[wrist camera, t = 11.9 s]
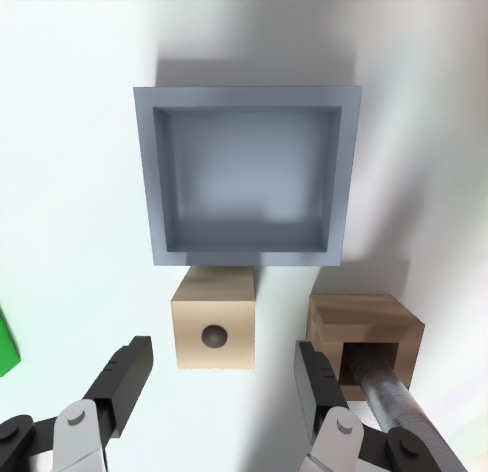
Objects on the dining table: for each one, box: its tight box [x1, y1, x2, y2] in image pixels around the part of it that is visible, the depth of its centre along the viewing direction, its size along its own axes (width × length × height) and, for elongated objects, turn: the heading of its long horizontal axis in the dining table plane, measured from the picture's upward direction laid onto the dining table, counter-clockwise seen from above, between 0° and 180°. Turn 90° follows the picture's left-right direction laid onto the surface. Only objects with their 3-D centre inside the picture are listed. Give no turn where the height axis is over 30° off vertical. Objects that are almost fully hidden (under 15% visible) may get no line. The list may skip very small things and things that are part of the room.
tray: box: [133, 86, 362, 266], centre depth 16 cm, size 11×13×3 cm
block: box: [171, 266, 255, 369], centre depth 17 cm, size 5×5×6 cm
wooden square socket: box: [306, 295, 425, 401], centre depth 19 cm, size 7×7×4 cm
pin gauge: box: [342, 342, 467, 472], centre depth 14 cm, size 3×3×12 cm
